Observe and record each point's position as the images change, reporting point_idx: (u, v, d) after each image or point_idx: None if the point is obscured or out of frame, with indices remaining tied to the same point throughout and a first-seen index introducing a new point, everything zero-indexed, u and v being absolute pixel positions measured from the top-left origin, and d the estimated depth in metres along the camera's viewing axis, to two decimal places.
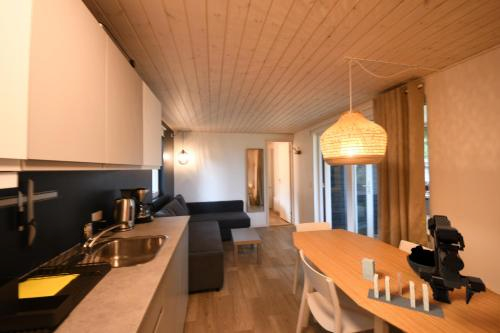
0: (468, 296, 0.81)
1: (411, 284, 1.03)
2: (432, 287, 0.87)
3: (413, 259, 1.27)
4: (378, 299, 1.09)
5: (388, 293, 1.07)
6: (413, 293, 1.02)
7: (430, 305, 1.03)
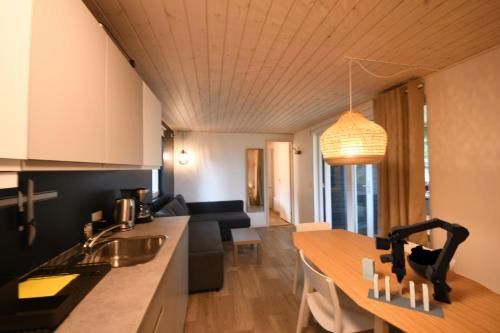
0: None
1: (411, 284, 1.03)
2: None
3: (413, 259, 1.27)
4: (378, 299, 1.09)
5: (388, 293, 1.07)
6: (413, 293, 1.02)
7: (430, 305, 1.03)
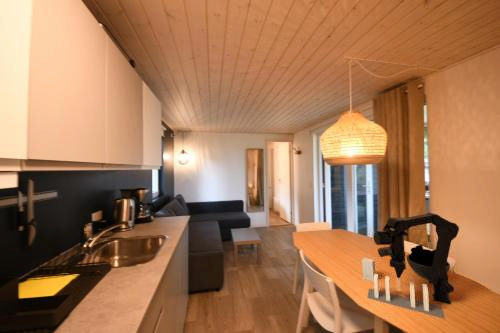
0: None
1: (411, 284, 1.03)
2: None
3: (413, 259, 1.27)
4: (378, 299, 1.09)
5: (388, 293, 1.07)
6: (413, 293, 1.02)
7: (430, 305, 1.03)
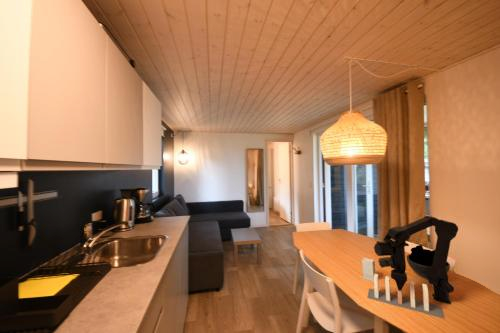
0: None
1: (411, 284, 1.03)
2: None
3: (413, 259, 1.27)
4: (378, 299, 1.09)
5: (388, 293, 1.07)
6: (413, 293, 1.02)
7: (430, 305, 1.03)
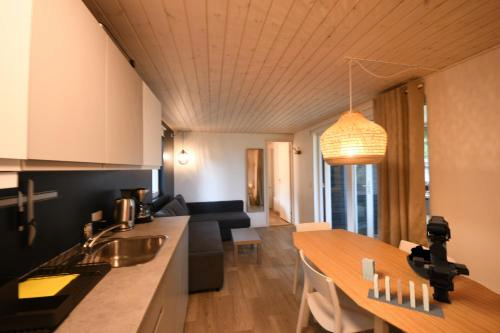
0: (450, 279, 0.95)
1: (411, 284, 1.03)
2: (429, 274, 0.99)
3: None
4: (378, 299, 1.09)
5: (388, 293, 1.07)
6: (413, 293, 1.02)
7: (430, 305, 1.03)
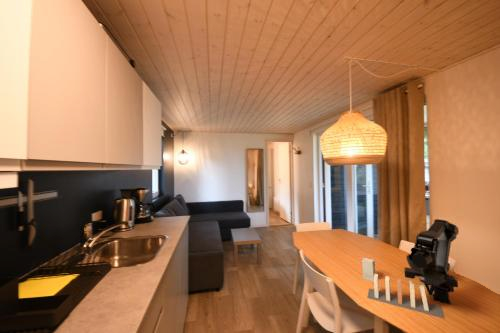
0: (431, 288, 0.99)
1: (411, 284, 1.03)
2: (427, 287, 1.00)
3: None
4: (378, 299, 1.09)
5: (388, 293, 1.07)
6: (413, 293, 1.02)
7: (430, 305, 1.03)
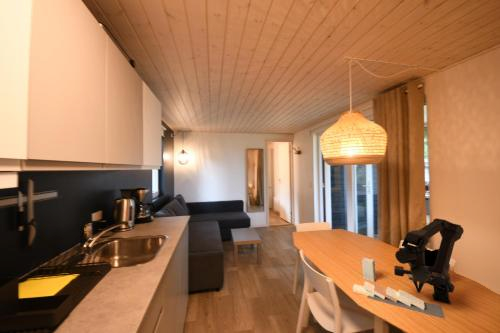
0: (420, 286, 1.01)
1: (386, 291, 1.09)
2: (415, 284, 1.02)
3: None
4: (378, 299, 1.09)
5: (376, 293, 1.10)
6: (394, 296, 1.06)
7: (430, 305, 1.03)
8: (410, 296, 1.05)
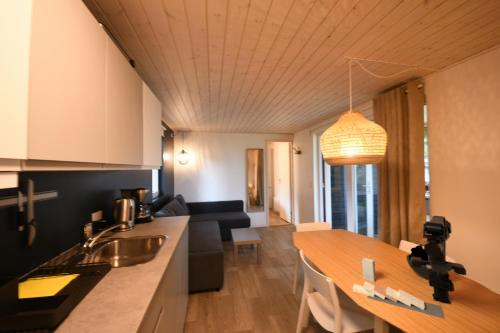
0: (438, 277, 0.97)
1: (386, 291, 1.09)
2: (434, 275, 0.98)
3: None
4: (378, 299, 1.09)
5: (376, 293, 1.10)
6: (394, 296, 1.06)
7: (430, 305, 1.03)
8: (410, 296, 1.05)
